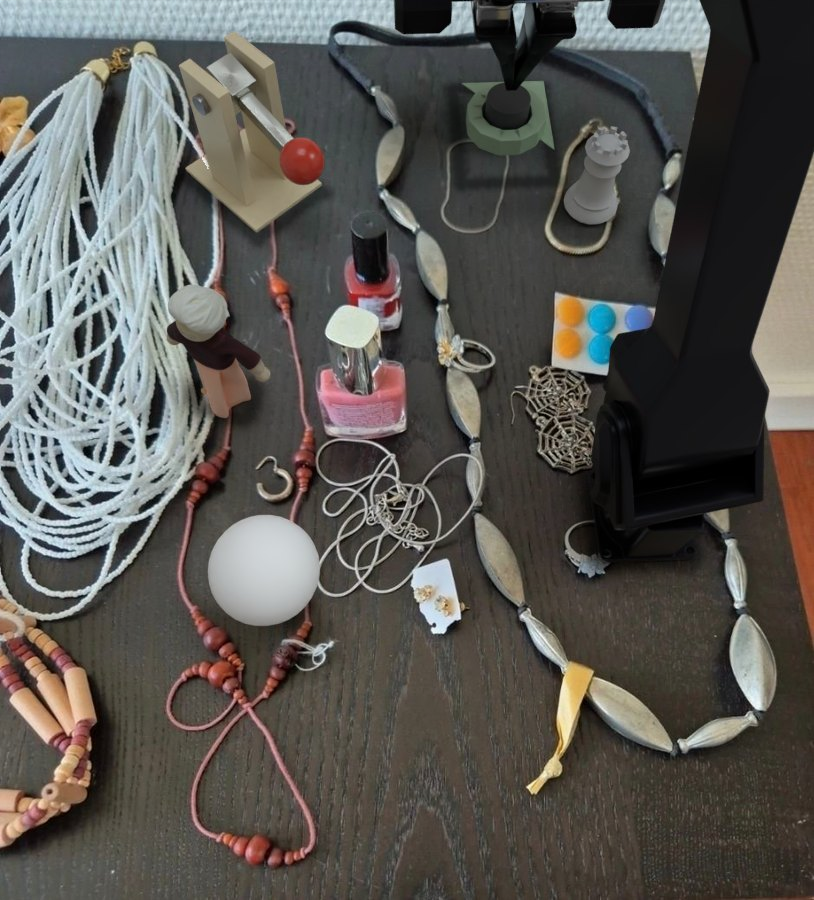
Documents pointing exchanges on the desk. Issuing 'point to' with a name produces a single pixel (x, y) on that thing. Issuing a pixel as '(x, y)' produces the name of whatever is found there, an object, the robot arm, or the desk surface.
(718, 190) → the robot arm
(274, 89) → the switch bracket
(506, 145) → the button block
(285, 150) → the switch lever
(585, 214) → the rook chess piece
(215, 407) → the grandmother figurine
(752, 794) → the desk surface
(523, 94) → the black button
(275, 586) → the lightbulb
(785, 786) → the desk surface
